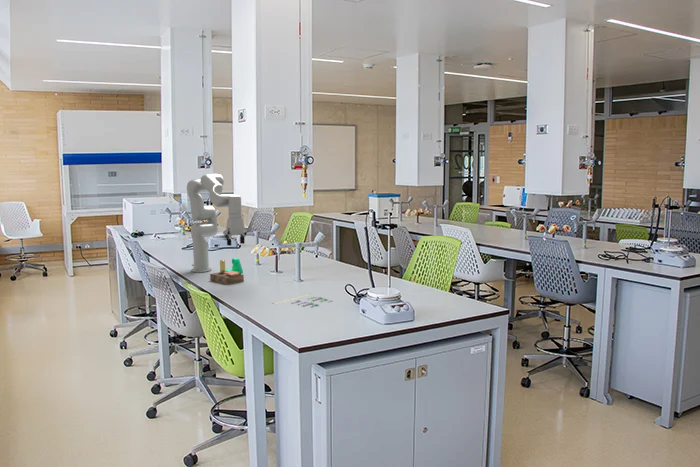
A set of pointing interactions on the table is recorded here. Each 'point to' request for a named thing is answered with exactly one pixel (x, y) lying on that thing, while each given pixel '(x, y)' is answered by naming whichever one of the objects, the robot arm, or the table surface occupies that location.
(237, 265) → the camera mount
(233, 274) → the orange flat plate
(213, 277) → the hitch block
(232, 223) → the robot arm
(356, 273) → the table surface
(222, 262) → the brass pin
